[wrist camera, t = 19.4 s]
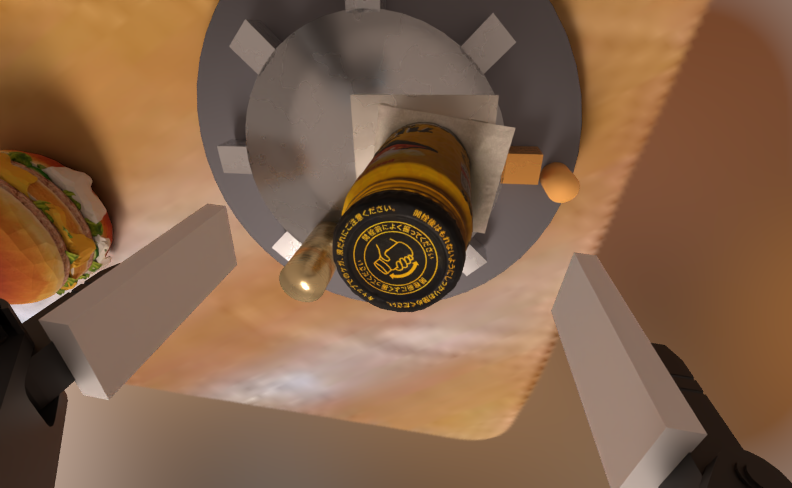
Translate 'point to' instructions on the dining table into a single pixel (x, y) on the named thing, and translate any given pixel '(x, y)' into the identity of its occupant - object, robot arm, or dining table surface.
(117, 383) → the robot arm
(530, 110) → the base
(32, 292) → the burger
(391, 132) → the condiment
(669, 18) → the dining table surface
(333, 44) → the grey disc with blocks
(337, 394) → the dining table surface
